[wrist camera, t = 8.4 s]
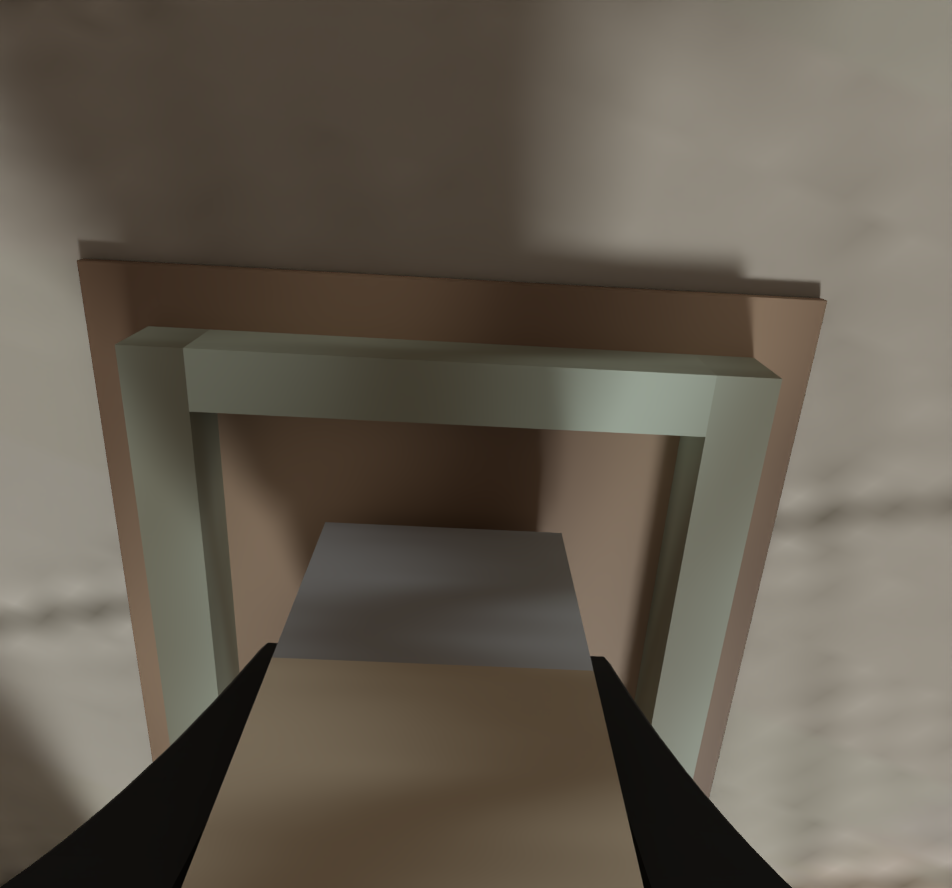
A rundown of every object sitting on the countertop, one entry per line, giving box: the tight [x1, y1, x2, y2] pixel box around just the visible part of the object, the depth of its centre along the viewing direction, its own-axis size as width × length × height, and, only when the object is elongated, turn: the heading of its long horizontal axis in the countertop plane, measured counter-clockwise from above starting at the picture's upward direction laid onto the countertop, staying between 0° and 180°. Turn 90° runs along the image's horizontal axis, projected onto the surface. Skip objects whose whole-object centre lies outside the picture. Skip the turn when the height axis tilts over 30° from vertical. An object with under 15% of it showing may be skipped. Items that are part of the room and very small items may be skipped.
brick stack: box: [181, 522, 644, 888], centre depth 10 cm, size 4×4×7 cm
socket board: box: [77, 259, 827, 798], centre depth 13 cm, size 12×12×1 cm
